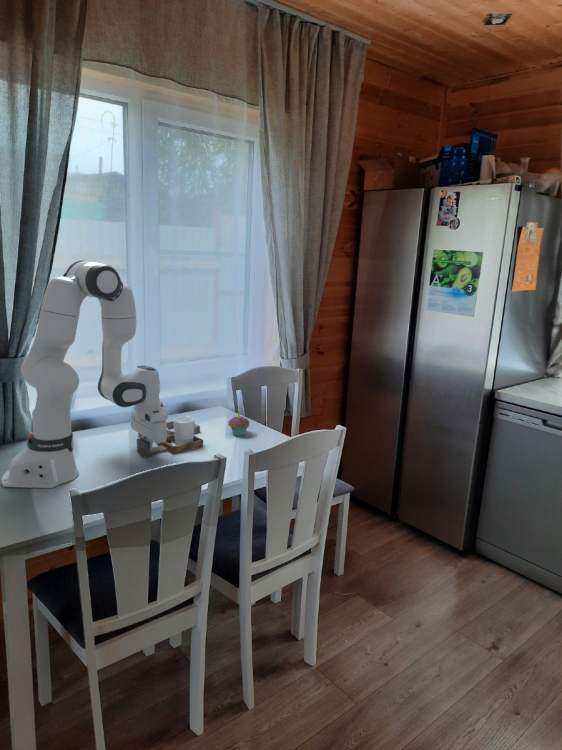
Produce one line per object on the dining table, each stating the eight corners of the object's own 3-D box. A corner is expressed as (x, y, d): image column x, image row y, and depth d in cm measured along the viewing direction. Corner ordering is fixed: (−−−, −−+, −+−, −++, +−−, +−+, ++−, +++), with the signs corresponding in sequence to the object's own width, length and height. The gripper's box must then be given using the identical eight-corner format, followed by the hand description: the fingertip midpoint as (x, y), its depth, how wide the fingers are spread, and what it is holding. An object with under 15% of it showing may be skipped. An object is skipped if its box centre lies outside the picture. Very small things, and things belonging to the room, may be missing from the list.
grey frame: (149, 443, 209) (149, 431, 208) (134, 434, 217) (134, 422, 216) (199, 431, 223) (199, 420, 222) (183, 424, 232) (183, 412, 231)
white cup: (183, 450, 204) (183, 424, 202) (169, 444, 209) (168, 419, 207) (198, 444, 210) (199, 419, 208) (184, 439, 215) (184, 414, 213)
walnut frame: (149, 459, 194) (149, 446, 192) (133, 449, 202) (132, 436, 201) (203, 446, 208) (203, 433, 207) (185, 437, 217) (185, 425, 216)
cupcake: (248, 438, 220) (249, 409, 217) (226, 437, 220) (227, 408, 217) (249, 430, 228) (250, 403, 225) (229, 429, 228) (229, 402, 225)
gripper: (125, 405, 201) (126, 440, 205) (153, 419, 187) (154, 458, 190) (141, 402, 206) (142, 437, 209) (170, 416, 191) (170, 453, 194)
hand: (148, 447), depth 199 cm, fingers closed, pressing on walnut frame
